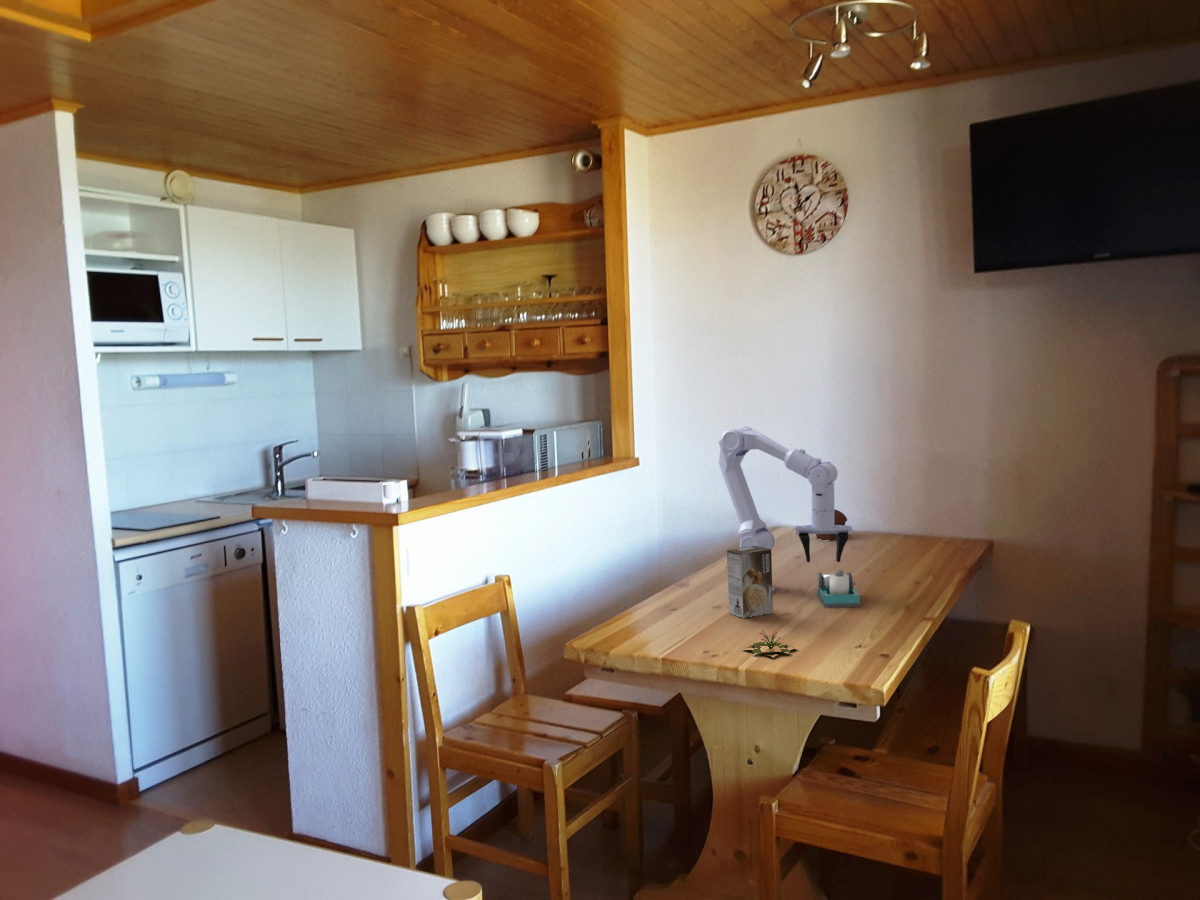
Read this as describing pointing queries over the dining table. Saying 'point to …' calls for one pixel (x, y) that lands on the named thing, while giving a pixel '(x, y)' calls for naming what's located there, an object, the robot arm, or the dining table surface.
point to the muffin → (838, 520)
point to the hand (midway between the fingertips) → (823, 561)
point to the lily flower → (769, 644)
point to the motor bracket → (837, 599)
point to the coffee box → (750, 581)
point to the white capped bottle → (839, 583)
